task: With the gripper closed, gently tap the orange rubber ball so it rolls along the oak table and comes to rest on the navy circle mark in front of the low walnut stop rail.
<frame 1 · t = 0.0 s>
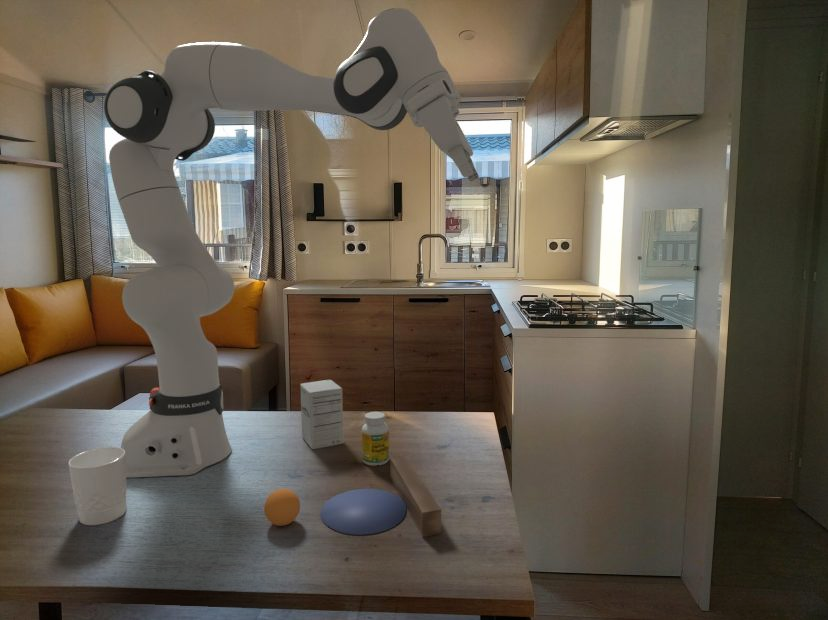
hand: (472, 178, 89), 54 cm above the table, tool tilted 30°, fingers open, 8 cm apart
stop rail: (413, 503, 91), on the table
white cup: (103, 515, 87), on the table
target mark: (363, 510, 88), on the table
supplement box: (322, 441, 117), on the table
ball: (282, 506, 84), on the table
supplement bottle: (375, 461, 107), on the table
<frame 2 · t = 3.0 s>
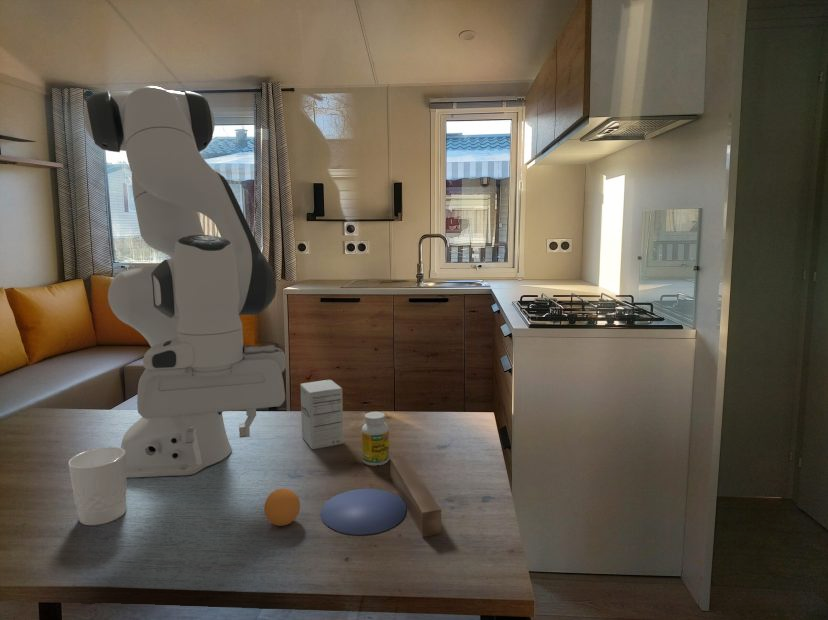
hand: (217, 439, 80), 15 cm above the table, tool pointing down, fingers open, 6 cm apart
nothing on the table moved.
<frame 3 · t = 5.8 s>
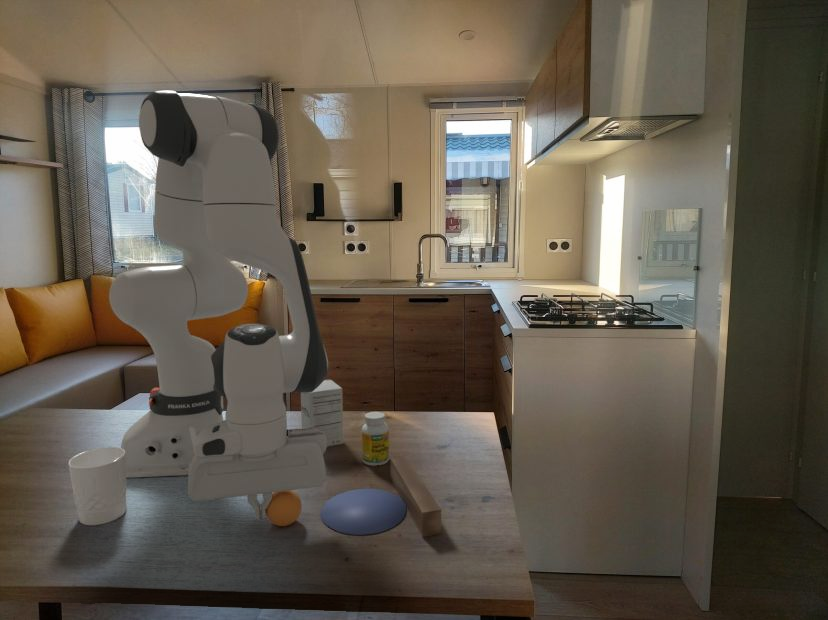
hand: (261, 517, 83), 2 cm above the table, tool pointing down, fingers closed, pressing on ball
ball: (283, 507, 84), on the table, touching gripper
everything else where it was.
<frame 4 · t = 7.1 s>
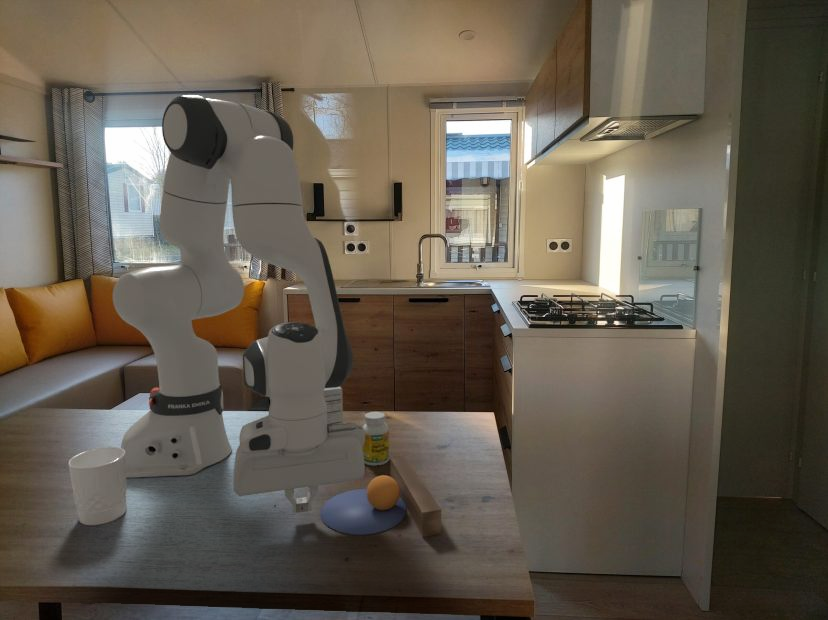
hand: (301, 510, 85), 2 cm above the table, tool pointing down, fingers closed
ball: (383, 492, 89), on the table
everything else where it was.
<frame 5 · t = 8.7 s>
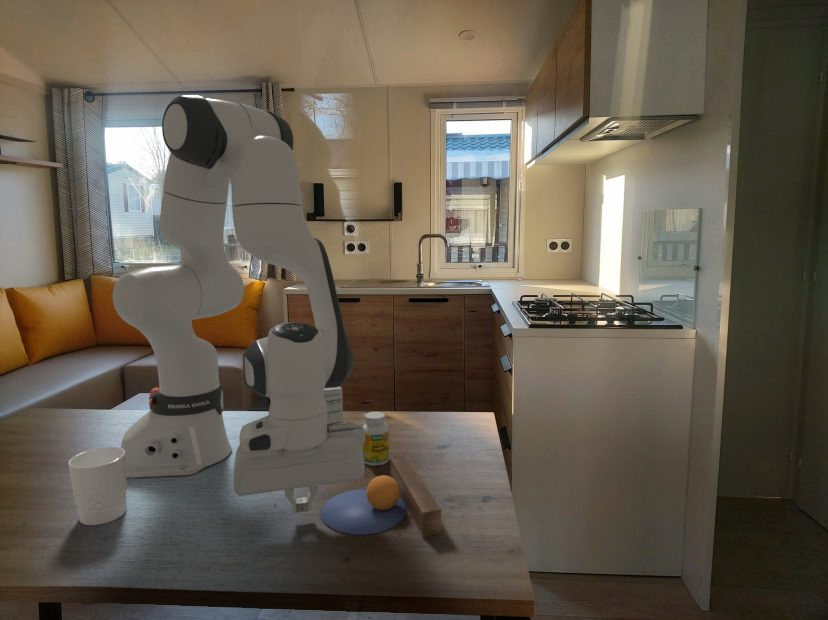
hand: (301, 510, 85), 2 cm above the table, tool pointing down, fingers closed
nothing on the table moved.
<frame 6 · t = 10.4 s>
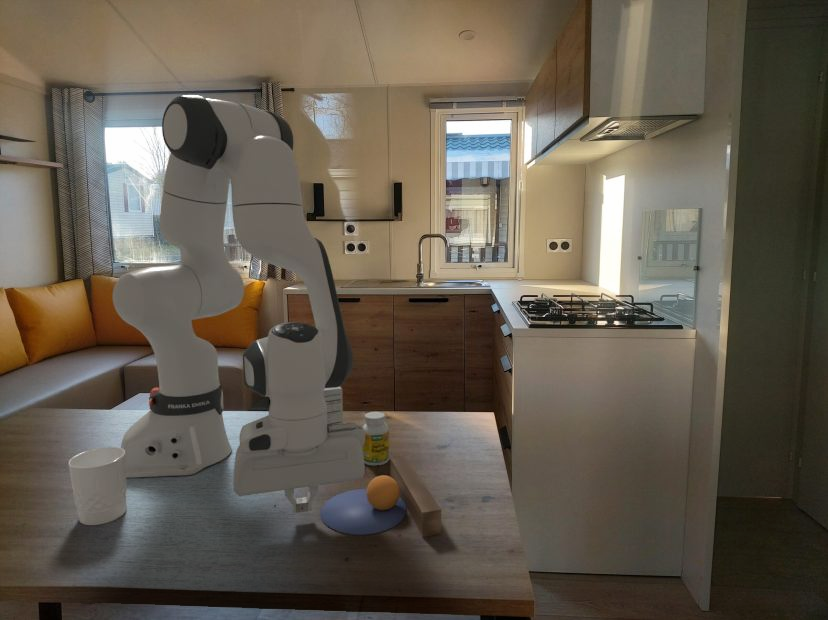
hand: (301, 510, 85), 2 cm above the table, tool pointing down, fingers closed
nothing on the table moved.
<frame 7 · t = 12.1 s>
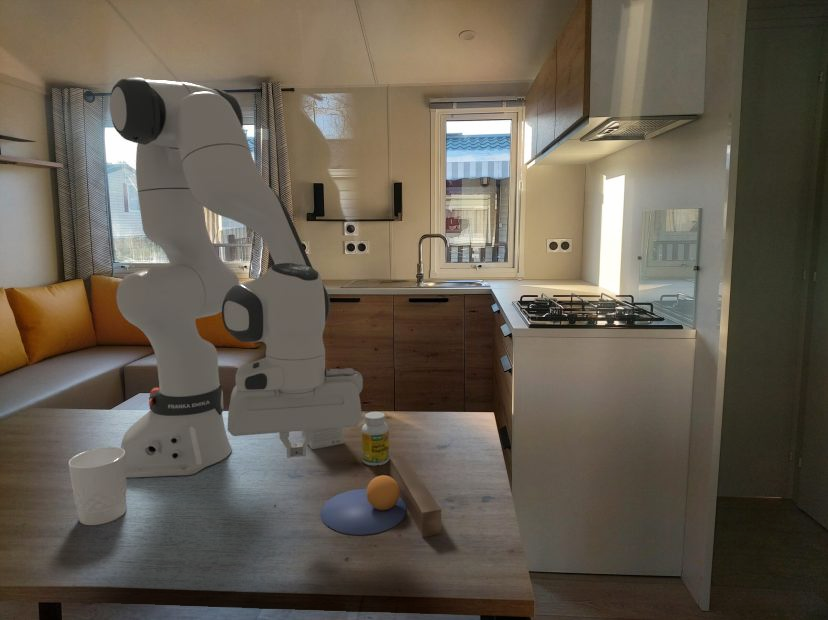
hand: (296, 455, 84), 11 cm above the table, tool pointing down, fingers closed
nothing on the table moved.
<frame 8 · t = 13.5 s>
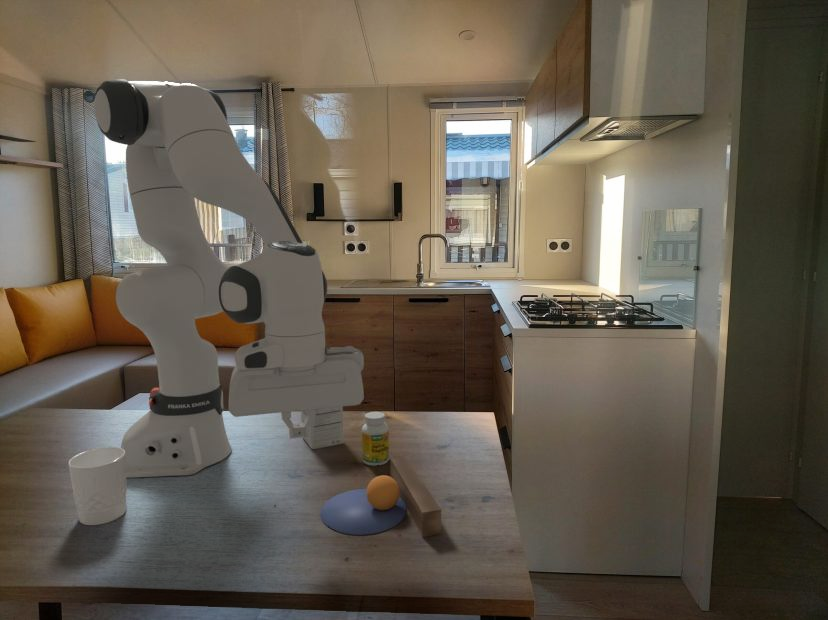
hand: (299, 436, 83), 14 cm above the table, tool pointing down, fingers closed
nothing on the table moved.
at the end: ball 3.3 cm from the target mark (horizontally); ball at rest at the end (0.0 cm/s); ball moved 16.3 cm from its start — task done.
